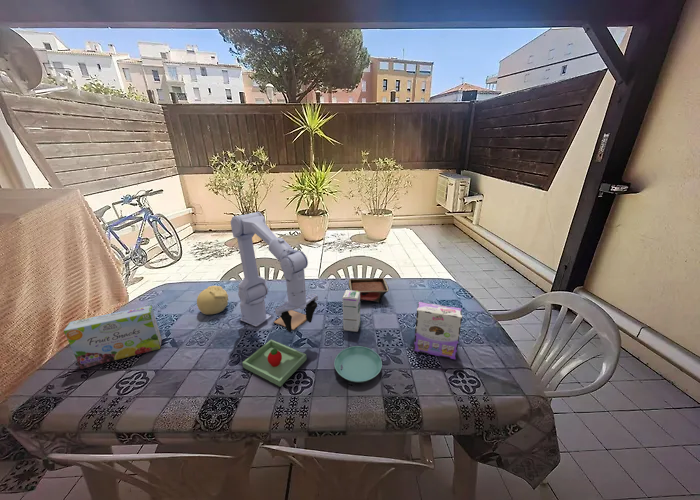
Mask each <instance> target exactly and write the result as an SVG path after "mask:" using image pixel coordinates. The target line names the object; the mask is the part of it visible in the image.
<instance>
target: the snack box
mask: <svg viewBox="0 0 700 500" xmlns="http://www.w3.org/2000/svg"><path fill="white" fill-rule="evenodd" d="M63 333H64V335H65V338H66V339H67V342H68V344H69V346H70V348H71V350H72V353H73V355H74V358H75V360H76V362H77V364H78V366H79V369H80V370H83V369H86V368H90V367H95V366H98V365H103V364H107V363H111V362H114V361H118V360H121V359H126V358H130V357H133V356H137V355H143V354H144V353H149V352H152V351H157V350H160V349H161V348H162V342H163V339H162V336H161V332H160V329H159V325H158V322H157V319H156V315H155V312H154V309H153V306H152V305H146V306H141V307H137V308H132V309H126V310H121V311H116V312H112V313H106V314H102V315H97V316H92V317H87V318H81V319H78V320H72V321H69V322H68V323H67V325H66V326H65V328H64V329H63Z"/></svg>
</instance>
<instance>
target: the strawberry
mask: <svg viewBox="0 0 700 500" xmlns="http://www.w3.org/2000/svg"><path fill="white" fill-rule="evenodd" d="M281 360H282V354H281V353H280V352H279V351H277V349H272V350H271V352H270V353H269V355H268V362H269V363H270V364H271V366H273V367H276V366H278V365H279V364H280V362H281Z"/></svg>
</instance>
